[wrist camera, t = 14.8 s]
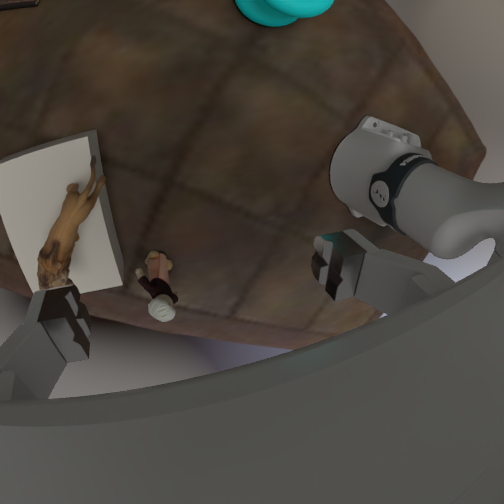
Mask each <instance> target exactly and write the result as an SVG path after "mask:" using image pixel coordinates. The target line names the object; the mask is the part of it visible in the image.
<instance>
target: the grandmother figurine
mask: <svg viewBox="0 0 504 504" xmlns="http://www.w3.org/2000/svg"><path fill="white" fill-rule="evenodd" d="M145 263H146V264H147V265H148V274H149V280H148V278H147V277H146V276H145V275H144V273H143V270H142V269H141V268H137V269H136V271H135V273H136V274H137V277H138V282H139V283H140V284H141V285H142V286H143V287H144V289H145V290H146V291H147V292H149V293H150V295H151V297H152V298H153V300H152V301H151V302H150V304H148V307H149V313H150V314H151V315H152V316H153V317H154V318H156V319H158V320H160V321H162V322H165V321H169V320H171V319H173V318H174V316H175V309H174V308H173V304H175V303H176V302H177V301H178V297H179V293H178V292H173V293H172V291H171V288H170V285H169V278H168V270H170V269H171V268H172V267H173V263H172V261H171V260H169V259H166V256H165V255H164V254H162V253H158V252H157V251H151V252H150V253H149V254H148V256H147V258H146V260H145Z"/></svg>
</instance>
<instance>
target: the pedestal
mask: <svg viewBox="0 0 504 504" xmlns="http://www.w3.org/2000/svg"><path fill="white" fill-rule="evenodd" d="M92 155H95V156H96V164H95V170H96V176H95V181H94V184H93V187H92V189H91V191H90V193H89V195H90V194H91V193H92V192H93V191H94V189H95V186H96V181H97V178H98V176H100V175H103V169H102V163H101V157H100V151H99V145H98V138H97V130H96V129H95V130H91V131H87V132H83V133H79V134H75V135H71V136H68V137H64V138H60V139H57V140H54V141H50V142H47V143H44V144H41V145H38V146H35V147H32V148H29V149H26V150H23V151H20V152H17V153H15V154H12V155H9V156H7V157H5V158H4V159H2V160H0V214H1V217H2V220H3V223H4V226H5V228H6V231H7V234H8V237H9V239H10V242H11V244H12V247H13V250H14V252H15V254H16V257H17V259H18V262H19V264H20V266H21V268H22V271H23V273H24V275H25V277H26V279H27V281H28V284H29V286H30V288H31V290H32V292H33V294H34V292H36V291H39V284H38V282H39V281H38V277H37V272H38V270H37V268H38V261H37V258H38V255H39V251H40V250H41V248H42V247H43V246H44V244H45V242H46V240H47V238H48V235H49V232H50V230H51V228H52V226H53V225H54V223H55V222H56V220H57V218H58V217H59V216H60V212H61V209H62V204H63V201H64V200H65V197H66V195H67V193H68V192H67V191H66V188H67V186H68V185H69V184H72V183H73V184H75V183H78V184H79V188H78V192H79V193H80V194H81V193H82V192H83V191H84V190H85V188H86V186H87V185H88V183H89V180H90V177H91V167H90V162H91V157H92ZM77 233H78V235H79V240H78V241H77V242H75V247H74V250H73V253H72V255H71V264H70V266H69V270H70V272H69V276H68V278H70V279H71V280H72V281H73V283H74V284H75V285H76V286H77V288H78V290H79V292H80V293H85V292H90V291H95V290H100V289H105V288H110V287H115V286H120V285H123V268H124V260H123V256H122V253H121V249H120V245H119V242H118V238H117V234H116V230H115V226H114V222H113V217H112V213H111V209H110V204H109V200H108V195H107V190H106V185H105V184H104V186H103V187H102V189H101V191H100V193H99V196H98V198H97V201H96V203H95V206H94V208H93V209H92V210H91V212H90V214H89V215H88V217H87V218H86V219H85V220H84V221H83V222H82V223H81V224H79V227H78V231H77Z"/></svg>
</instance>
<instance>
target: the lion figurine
mask: <svg viewBox="0 0 504 504" xmlns="http://www.w3.org/2000/svg"><path fill="white" fill-rule="evenodd" d="M95 164H96V156H95V155H92V157H91V162H90V167H91V177H90V180H89V183H88V185H87V186H86V188H85V190H84V191H83V192H82V193H81V194H80V193H79V192H78V188H79V184H78V183H75V184H73V183H72V184H69V185H68V186H67V188H66V191H67V192H68V193H67V195H66V197H65V200H64V201H63V204H62V209H61V212H60V216H59V217H58V218H57V220H56V222H55V223H54V225H53V226H52V228H51V230H50V232H49V235H48V238H47V240H46V242H45V244H44V246H43V247H42V248H41V250H40V251H39V255H38V258H37V261H38V268H37V270H38V272H37V277H38V281H39V282H38V284H39V290H43V289H49V288H54V287H60V286H66V285H71V284H74V283H73V281H72V280H71V279H70V278H68V276H69V272H70V270H69V266H70V264H71V255H72V253H73V250H74V247H75V242H77V241H78V240H79V235H78V233H77V231H78V227H79V224H81V223H82V222H83V221H84V220H85V219H86V218H87V217H88V215H89V214H90V212H91V210H92V209H93V208H94V206H95V203H96V201H97V198H98V196H99V193H100V191H101V189H102V187H103V186H104V184H105V183H106V176H104V175H100V176H98V178H97V181H96V186H95V189H94V191H93V192H92V193H91V194H90V195H89V193H90V191H91V189H92V187H93V184H94V181H95V176H96V170H95ZM74 285H75V284H74Z"/></svg>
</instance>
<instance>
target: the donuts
mask: <svg viewBox="0 0 504 504" xmlns="http://www.w3.org/2000/svg"><path fill="white" fill-rule="evenodd" d="M333 1H334V0H235V2H236V4H237V6H238V8H239V9H240V11H241V12H242V13H243V14H244V15H245V16H246V17H248V18H249V19H250V20H252V21H254V22H256V23H258V24H261V25H265V26H271V27H279V26H284V25H288V24H290V23H292V22H294V21H296V20H297V19H298V18H309V17H314V16H317V15H320V14H322V13H323V12H325V11H326V10H327V9H328V8H329V7H330V6H331V5H332V3H333Z"/></svg>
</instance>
